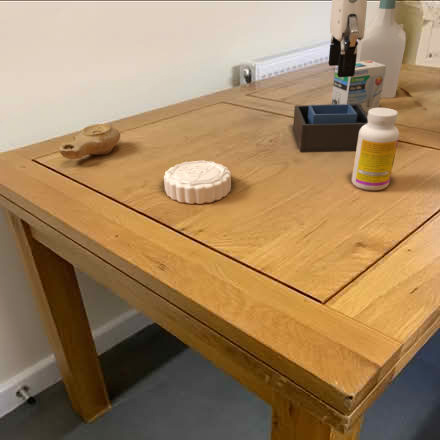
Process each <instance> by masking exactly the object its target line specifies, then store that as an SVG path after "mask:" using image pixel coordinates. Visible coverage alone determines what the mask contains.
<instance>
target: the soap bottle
mask: <svg viewBox="0 0 440 440" xmlns="http://www.w3.org/2000/svg"><path fill="white" fill-rule="evenodd" d="M396 4H397V0H379V5H378V10H377V14H376V15H375V16H376V17H375V18H374V20H373V21H372V22H371V23H370V25H368V27H366V28H365V32H364V38H363V39H362V40H358V39H357V41H358V45H357V57H356V62H361V61H368V60H371V61H374V62H376V63H380V64H383V65H386V71H385V76H384V81H383V87H382V92H381V97H380V99H393V98H395V97H396V95H397V89H398V84H399V79H400V74H401V69H402V63H403V58H404V54H405V50H406V42H407V40H406V39H407V36H406V32H405V30H404V29H403V28H401V27H400V25H399V24H398V23H397V22H396V18H395V17H396V16H395V15H396V13H395V11H396Z"/></svg>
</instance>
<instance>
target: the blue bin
mask: <svg viewBox="0 0 440 440" xmlns="http://www.w3.org/2000/svg"><path fill="white" fill-rule="evenodd" d="M308 105H309V109H308V120H307V124H335V123H356V119H357V113H356V112H355V110H354V109H353V108H352V106H351V105H350V104H336V105H331V104H308Z"/></svg>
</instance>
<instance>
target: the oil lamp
mask: <svg viewBox="0 0 440 440" xmlns="http://www.w3.org/2000/svg"><path fill="white" fill-rule="evenodd" d="M72 137H73V140H72V141H69V142H62V143H60V146H59V147H58V151H59V153H60V155H61V156H62V157H63V158H66V159H70V160H75V159H81V158H83V157H85V156H89V155H95V156H100V155H106V154H109V153H111V152H112V151H113V149H114V148H115V147H116V146H117V145H118V143H119V142H120V139H121V131H119V129H117V128H116V127H115V126H113V125H111V124H106V123H95V124H92V125H88V126H86V127H84V128H82V130H81V132H79V133H78V134H75V135H73V136H72Z"/></svg>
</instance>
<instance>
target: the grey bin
mask: <svg viewBox="0 0 440 440" xmlns="http://www.w3.org/2000/svg"><path fill="white" fill-rule="evenodd" d="M309 105H310V104H308V105H294V109H293V112H294V113H293V124H292V132H293V135H294V138H295V140H296V143H297V147H298V149H299V153H321V152H322V153H324V152H326V153H329V152H331V153H332V152H356V148H357V142H358V135H359V130H360V129H361V127H362V126H364V125H365V124H367V123H368V118H367V116H368V113H366V112H365V111H364V109H363V108H362V107H361V105H360V104H350V105H351V106H352V108H353V109H354V110H355V112H356V113H357V119H356V123H335V124H307V120H308V109H309Z"/></svg>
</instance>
